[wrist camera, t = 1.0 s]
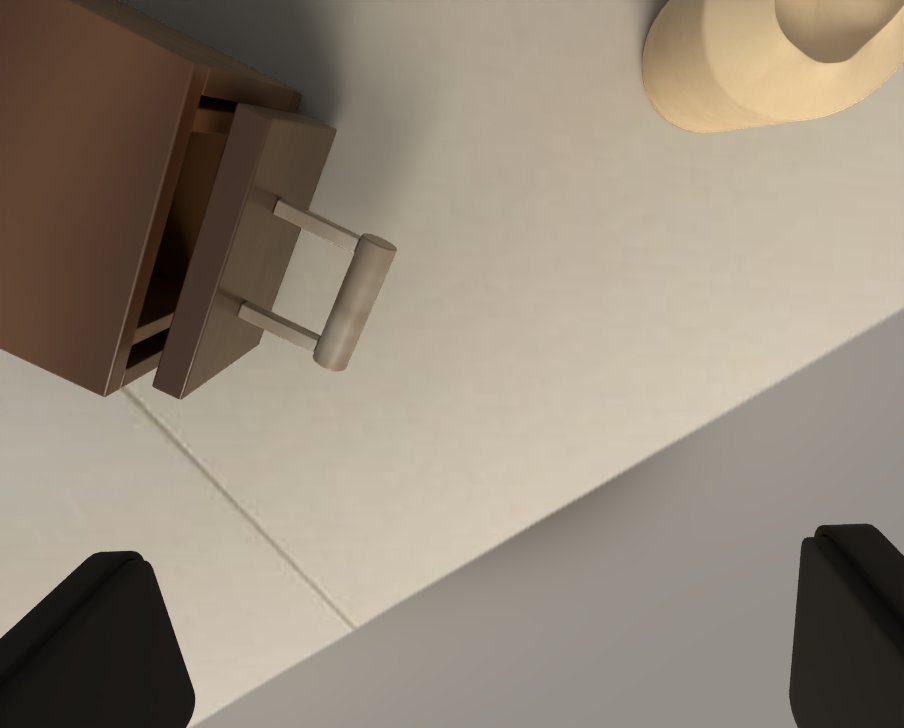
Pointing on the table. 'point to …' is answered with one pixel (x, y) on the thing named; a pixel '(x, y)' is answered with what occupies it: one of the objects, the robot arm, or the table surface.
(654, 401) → the table surface
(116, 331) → the cabinet
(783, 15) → the candle
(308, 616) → the table surface
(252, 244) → the drawer
